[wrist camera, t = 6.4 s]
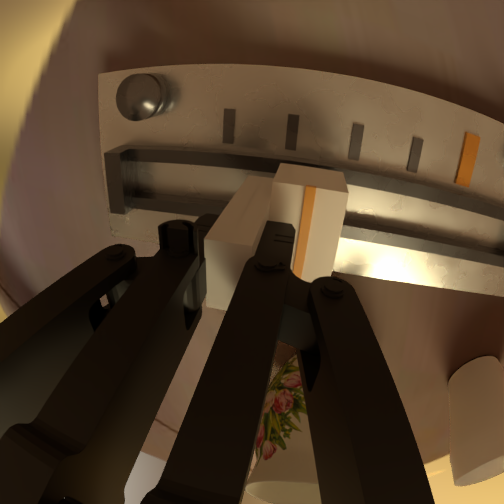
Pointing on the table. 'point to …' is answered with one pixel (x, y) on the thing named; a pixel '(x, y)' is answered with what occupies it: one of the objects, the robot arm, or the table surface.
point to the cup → (477, 421)
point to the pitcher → (285, 445)
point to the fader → (310, 215)
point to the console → (312, 162)
